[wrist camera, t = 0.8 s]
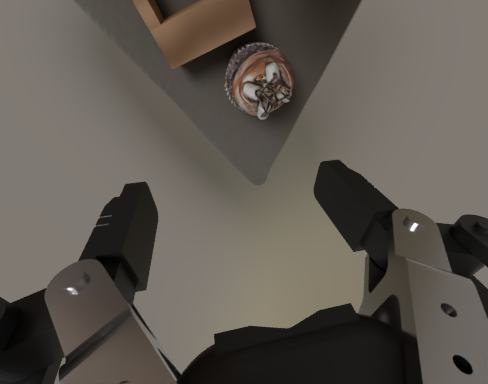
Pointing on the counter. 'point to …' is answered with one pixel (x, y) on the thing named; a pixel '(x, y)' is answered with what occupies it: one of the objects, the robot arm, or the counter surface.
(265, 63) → the cupcake
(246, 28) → the holder board
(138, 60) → the counter surface
